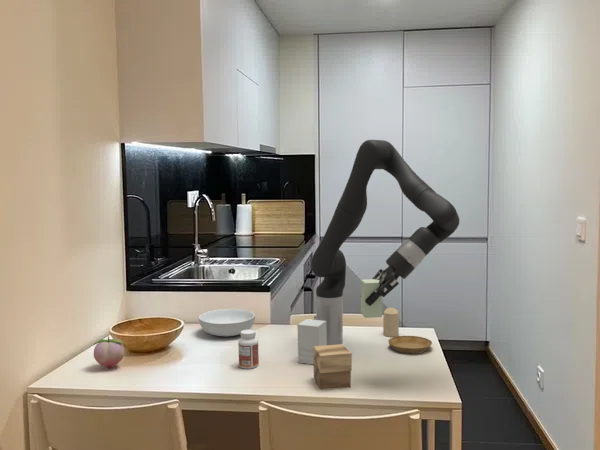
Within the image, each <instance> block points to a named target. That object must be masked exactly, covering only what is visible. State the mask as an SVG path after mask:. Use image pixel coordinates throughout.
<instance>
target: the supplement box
mask: <svg viewBox="0 0 600 450" xmlns="http://www.w3.org/2000/svg"><path fill="white" fill-rule="evenodd" d="M296 326H297V362H298V363H301V364H308V365H314V363H313V346H323V345H327V330H326V321H322V320H314V319H310V318H305V319H304V320H302V321H301V322H299V323H298V324H297V325H296Z"/></svg>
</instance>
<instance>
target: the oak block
mask: <svg viewBox="0 0 600 450" xmlns="http://www.w3.org/2000/svg"><path fill="white" fill-rule="evenodd" d="M352 355H353V354H352V352H351V351H350V350H349V349H348V348H347V347H346V345H344V344H337V345H323V346H313V363H314V364H313V366H314V365H315V366H316V367H317V369H318V370H319V372H320V373H329V372H341V371H351V372H352V365H353V363H352V361H353V360H352V359H353V358H352V357H353V356H352Z"/></svg>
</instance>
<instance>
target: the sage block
mask: <svg viewBox="0 0 600 450" xmlns="http://www.w3.org/2000/svg"><path fill="white" fill-rule="evenodd" d="M379 281H380V280H375V279H371V278H370V279H369V278H368V279H360V314H361V315H362V316H363V318H365V319H367V318H368V319H371V318H382V317H383V296H382V297H379V298H378V299H377V300H376V301H375V302H374V303H373V304H372V305H371V306H369V305H368V304H367V303H366V302H365V300H366V299H367V298H368V297H369V295H370V294H371V293H372V292H374V290H375V289H376V288H377V287H378V283H379Z"/></svg>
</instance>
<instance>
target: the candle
mask: <svg viewBox="0 0 600 450" xmlns="http://www.w3.org/2000/svg"><path fill="white" fill-rule="evenodd" d="M399 314H400V313H399V310H398V309H396V308H394V307H386V308H385V310H384V311H382V317H383V326H382V327H383V328H382V329H383V332H382V334H383V336H384V337H388V338H393V337H397V336H399V330H400V328H399V325H400V323H399V322H400V321H399V320H400V319H399V316H400V315H399Z"/></svg>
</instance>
